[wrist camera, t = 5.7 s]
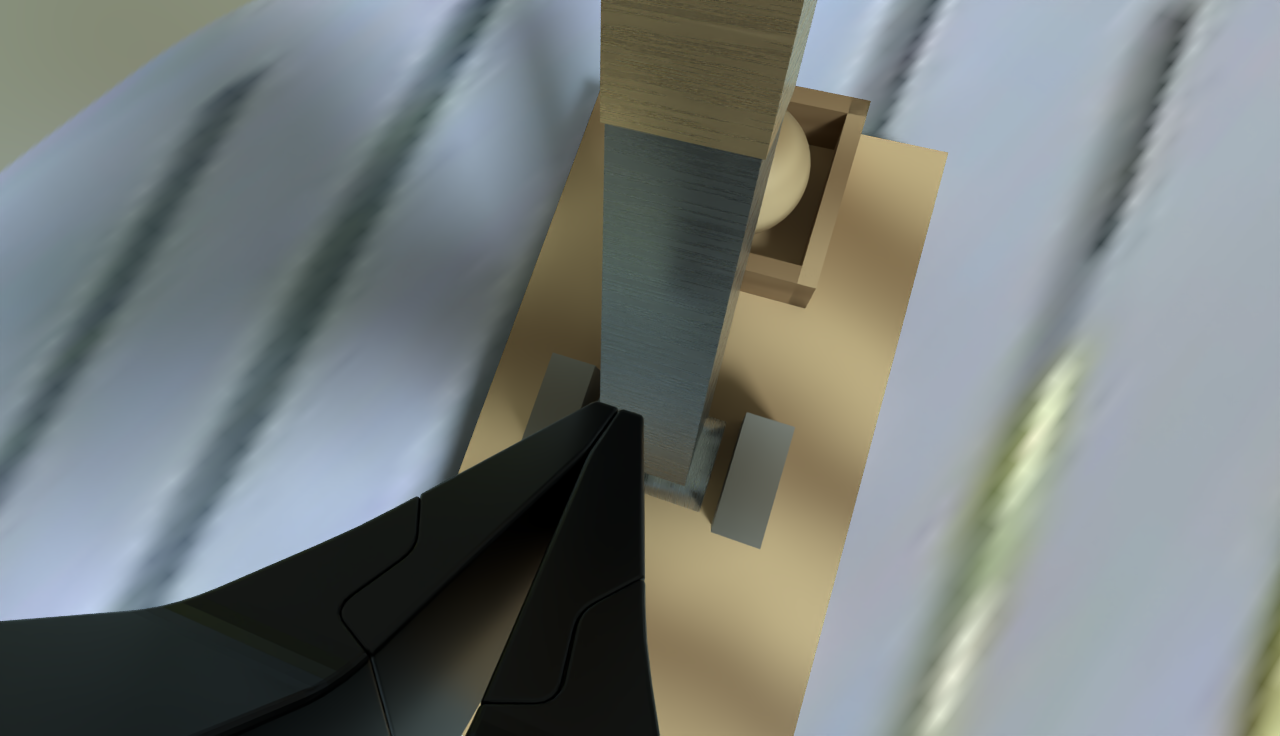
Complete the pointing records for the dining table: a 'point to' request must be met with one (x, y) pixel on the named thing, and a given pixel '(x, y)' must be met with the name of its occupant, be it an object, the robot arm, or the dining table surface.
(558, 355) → the base
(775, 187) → the beige ball
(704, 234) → the lever
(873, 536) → the dining table surface
